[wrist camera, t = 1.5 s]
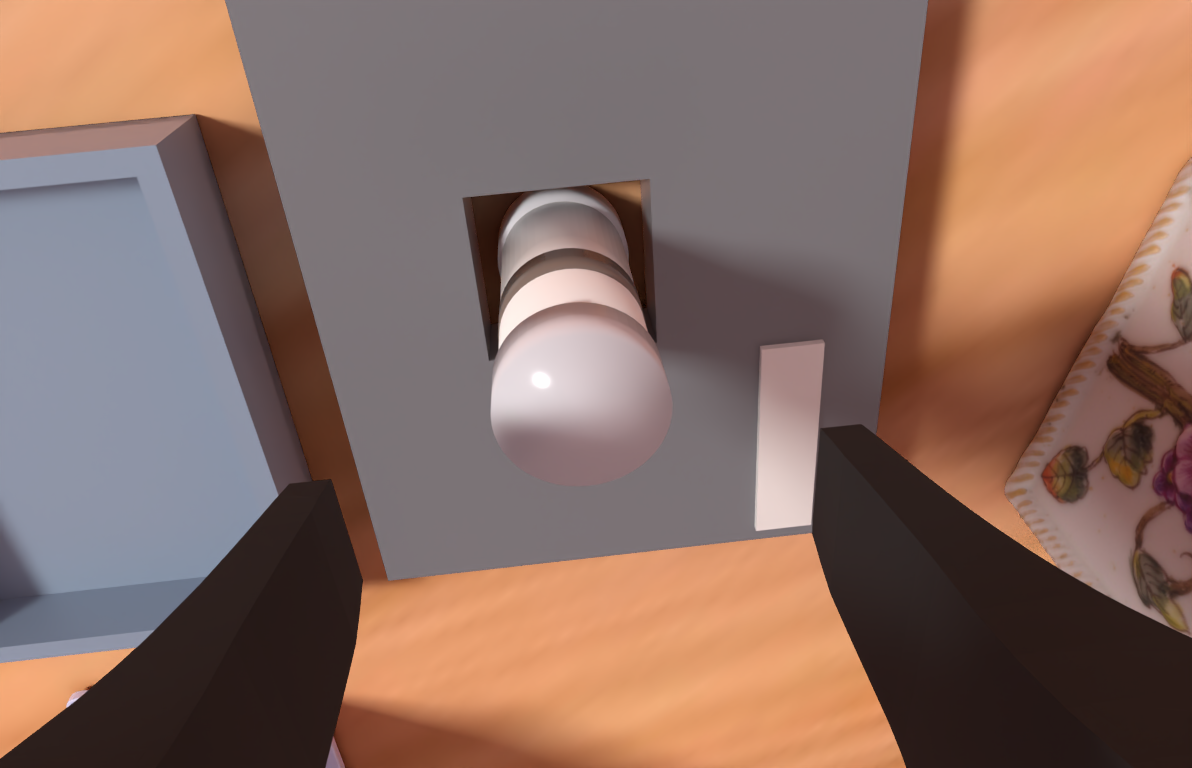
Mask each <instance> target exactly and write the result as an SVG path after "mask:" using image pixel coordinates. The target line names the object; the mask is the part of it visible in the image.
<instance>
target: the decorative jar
mask: <svg viewBox="0 0 1192 768" xmlns="http://www.w3.org/2000/svg"><path fill="white" fill-rule="evenodd" d="M1004 490H1005V495H1006V497H1007V499H1008V501H1009V502H1011V503H1012V504H1013V506H1014V507H1015V509H1016V510H1017V511H1018V512H1019V514H1020V517H1021V518H1022V519H1023V520H1024V522H1025V523H1026V525H1027V526H1028V527H1029V528H1030V529H1031V531H1032V532H1033V534H1034V535H1035V536H1036V537H1037V539H1038V541H1039V543H1040V544H1041V545H1042V546H1043V548H1044V549H1045V551H1046V552H1047V553H1048V554H1049V555H1050V557H1051V558H1052V560H1053V561H1054V562H1055V563H1056V565H1057V567H1058V568H1059V569H1061V570H1063V571H1064V572H1066V573H1068V574H1070V575H1071V576H1073V577H1075V578H1076V579H1078V580H1080V581H1082V582H1083V583H1085V584H1087V585H1089V586H1090V587H1092V588H1094V589H1095V590H1097V591H1099V592H1101V593H1103V594H1105V595H1106V596H1108V597H1110V598H1112V599H1114V600H1116V601H1118V602H1120V603H1122V604H1124V605H1125V606H1127V607H1129V608H1131V609H1133V610H1135V611H1137V612H1139V613H1142V614H1144V615H1146V616H1148V617H1150V618H1152V619H1154V620H1156V621H1158V622H1160V623H1162V624H1164V625H1166V626H1168V627H1170V628H1172V629H1174V630H1176V631H1178V632H1180V633H1182V634H1185V635H1187V636H1189V637H1191V638H1192V157H1191V158H1190V159H1189V160H1188V161H1187V163H1186V164H1185V165H1184V167H1183V168H1182V169H1181V171H1180V172H1179V174H1178V175H1177V178H1176V180H1175V182H1174V184H1173V185H1172V187H1171V189H1170V191H1169V193H1168V195H1167V197H1166V199H1165V201H1164V203H1163V205H1162V206H1161V208H1160V210H1159V212H1158V213H1157V215H1156V217H1155V219H1154V221H1153V223H1152V225H1151V227H1150V229H1149V230H1148V232H1147V234H1146V236H1145V238H1144V240H1143V241H1142V243H1141V244H1140V246H1139V248H1138V251H1137V252H1136V254H1135V256H1134V258H1133V261H1132V263H1131V265H1130V266H1129V268H1128V270H1127V271H1126V273H1125V275H1124V277H1123V279H1122V281H1121V283H1120V285H1119V287H1118V289H1117V291H1116V293H1115V295H1114V296H1113V298H1112V300H1111V302H1110V304H1109V306H1108V308H1107V310H1106V311H1105V313H1104V314H1103V316H1102V317H1101V319H1100V320H1099V322H1098V323H1097V324H1096V326H1095V328H1094V329H1093V331H1092V334H1091V336H1090V337H1089V339H1088V341H1087V342H1086V344H1085V345H1084V347H1083V349H1082V351H1081V352H1080V354H1079V356H1078V358H1077V360H1076V362H1075V363H1074V365H1073V366H1072V368H1071V370H1070V372H1069V374H1068V376H1067V378H1066V379H1065V381H1064V383H1063V385H1062V387H1061V389H1060V390H1059V392H1058V394H1057V396H1056V398H1055V399H1054V401H1053V403H1052V405H1051V407H1050V409H1049V411H1048V413H1047V415H1046V417H1045V418H1044V420H1043V422H1042V424H1041V426H1040V428H1039V430H1038V432H1037V433H1036V435H1035V437H1034V439H1033V440H1032V442H1031V443H1030V445H1029V446H1028V448H1027V449H1026V450H1025V452H1024V453H1023V455H1022V456H1021V458H1020V460H1019V462H1018V464H1017V467H1016V469H1015V470H1014V472H1013V473H1012V474H1011V476H1010V477H1009V479H1008V480H1007V482H1006V485H1005V489H1004Z"/></svg>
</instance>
